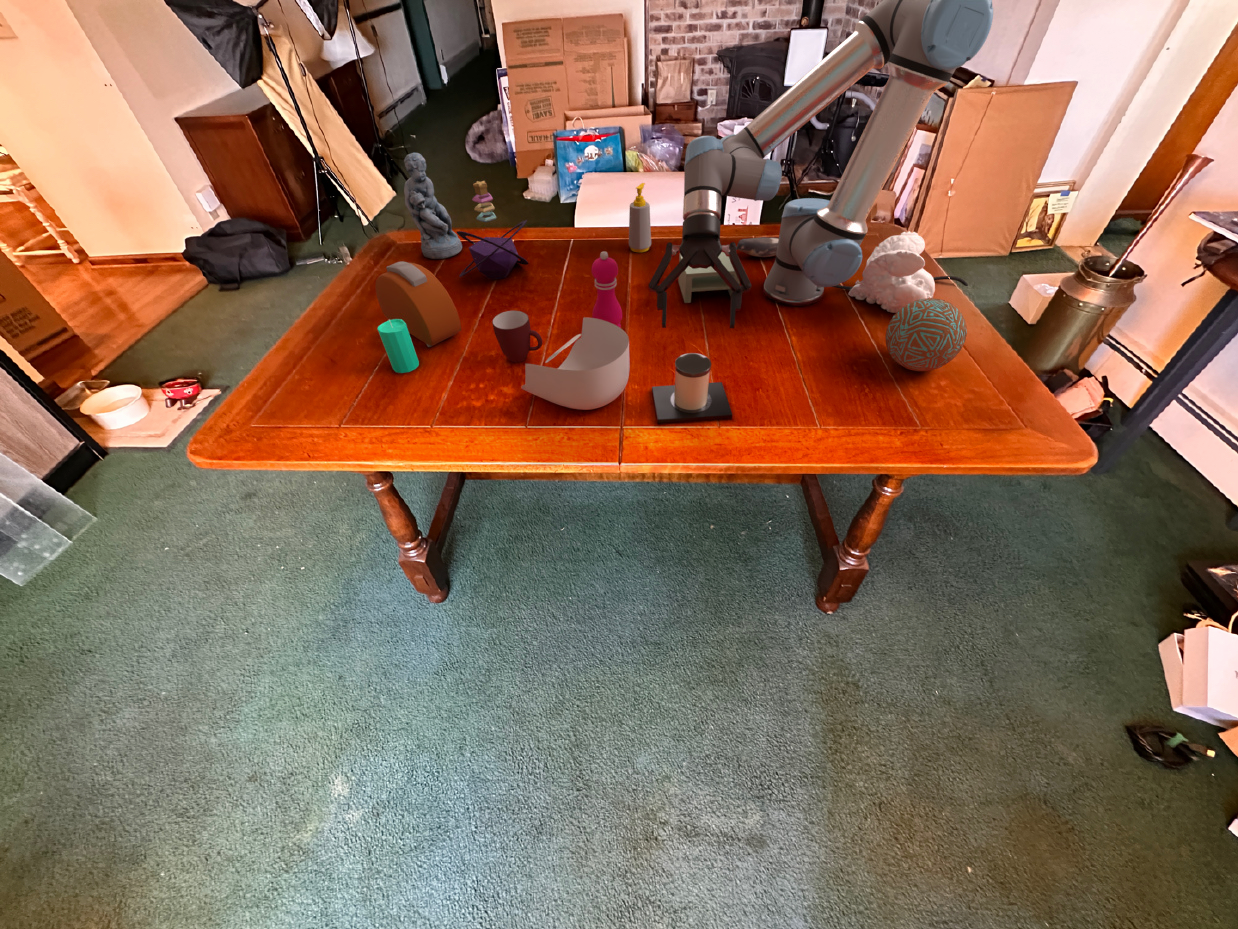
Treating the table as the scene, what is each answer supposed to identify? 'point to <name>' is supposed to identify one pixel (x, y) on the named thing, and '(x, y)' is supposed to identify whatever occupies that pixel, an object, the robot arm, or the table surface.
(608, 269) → the pepper mill
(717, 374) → the table surface
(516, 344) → the mug
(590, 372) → the white curved piece
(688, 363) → the jar
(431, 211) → the statue
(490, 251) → the purple faceted sculpture
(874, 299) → the white lumpy figure
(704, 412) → the hob plate
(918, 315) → the decorative sphere
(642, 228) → the soap bottle
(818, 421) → the table surface
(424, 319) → the alarm clock
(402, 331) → the candle
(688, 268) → the small table
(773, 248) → the decorative bird
